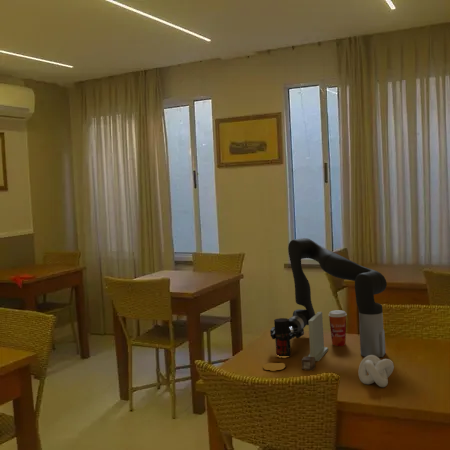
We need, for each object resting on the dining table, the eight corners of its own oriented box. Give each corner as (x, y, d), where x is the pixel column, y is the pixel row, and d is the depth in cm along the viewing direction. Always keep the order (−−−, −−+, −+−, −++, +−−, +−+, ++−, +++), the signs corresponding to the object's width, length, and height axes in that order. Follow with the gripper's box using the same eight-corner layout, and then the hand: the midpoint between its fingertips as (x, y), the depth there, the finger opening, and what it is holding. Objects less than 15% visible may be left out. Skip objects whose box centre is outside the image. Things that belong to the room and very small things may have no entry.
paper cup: (328, 346, 239) (327, 314, 238) (330, 341, 246) (329, 309, 245) (347, 347, 237) (346, 314, 236) (349, 341, 244) (347, 309, 243)
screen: (328, 349, 234) (326, 312, 233) (318, 361, 221) (316, 321, 220) (316, 349, 236) (314, 311, 235) (306, 360, 223) (304, 320, 222)
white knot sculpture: (350, 384, 194) (349, 359, 193) (369, 374, 202) (368, 350, 202) (380, 392, 186) (379, 365, 185) (398, 381, 194) (397, 356, 194)
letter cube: (315, 367, 214) (314, 357, 214) (312, 371, 210) (311, 360, 210) (305, 366, 216) (304, 356, 216) (301, 370, 212) (301, 359, 212)
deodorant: (273, 355, 231) (271, 319, 230) (286, 352, 234) (284, 317, 233) (281, 359, 226) (278, 322, 225) (293, 356, 228) (291, 320, 227)
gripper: (276, 317, 245) (263, 327, 230) (308, 318, 239) (297, 329, 224) (277, 334, 246) (264, 345, 230) (309, 336, 240) (298, 347, 224)
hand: (280, 337), depth 227 cm, fingers closed on deodorant, 6 cm apart
